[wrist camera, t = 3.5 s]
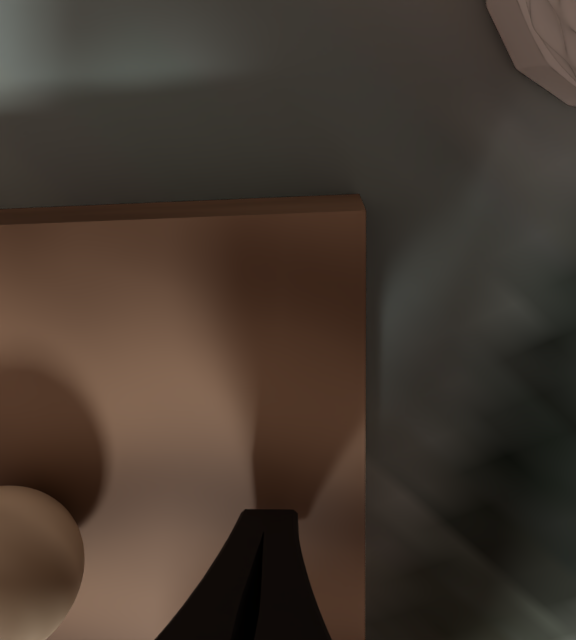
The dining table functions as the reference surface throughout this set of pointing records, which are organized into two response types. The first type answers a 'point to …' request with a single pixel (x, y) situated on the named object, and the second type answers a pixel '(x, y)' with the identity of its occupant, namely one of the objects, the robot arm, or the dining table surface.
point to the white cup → (540, 41)
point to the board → (188, 391)
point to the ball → (36, 563)
